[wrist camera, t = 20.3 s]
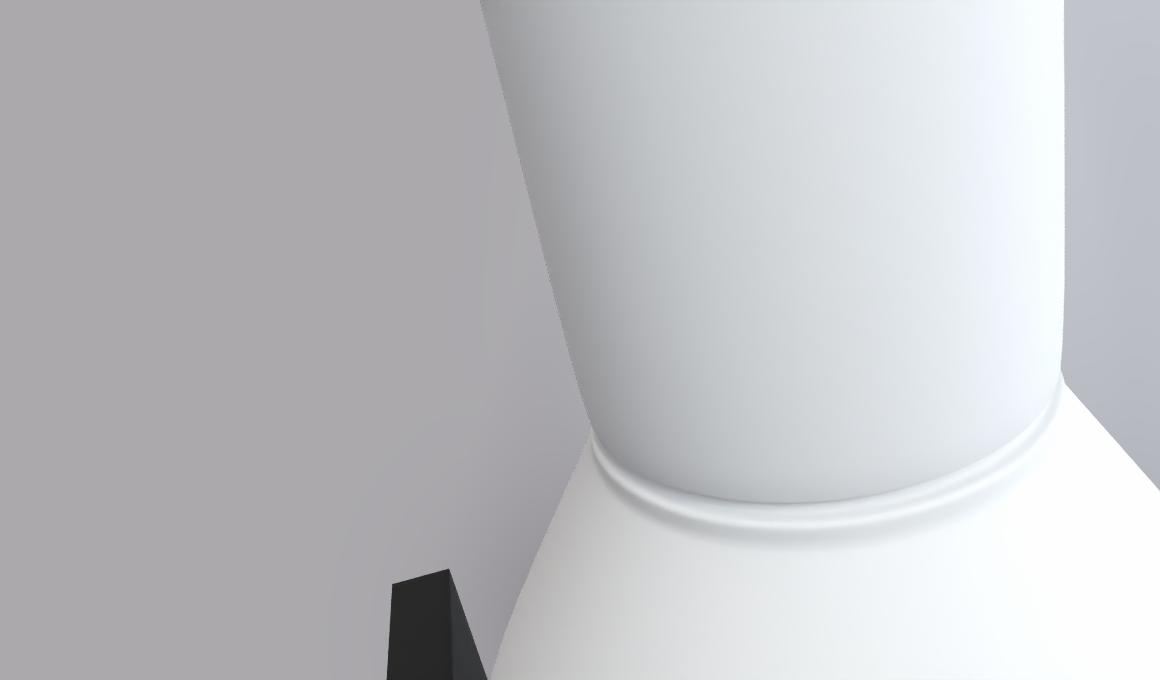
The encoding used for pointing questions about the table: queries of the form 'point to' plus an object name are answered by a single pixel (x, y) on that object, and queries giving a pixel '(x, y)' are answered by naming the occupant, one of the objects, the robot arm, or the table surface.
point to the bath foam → (817, 349)
